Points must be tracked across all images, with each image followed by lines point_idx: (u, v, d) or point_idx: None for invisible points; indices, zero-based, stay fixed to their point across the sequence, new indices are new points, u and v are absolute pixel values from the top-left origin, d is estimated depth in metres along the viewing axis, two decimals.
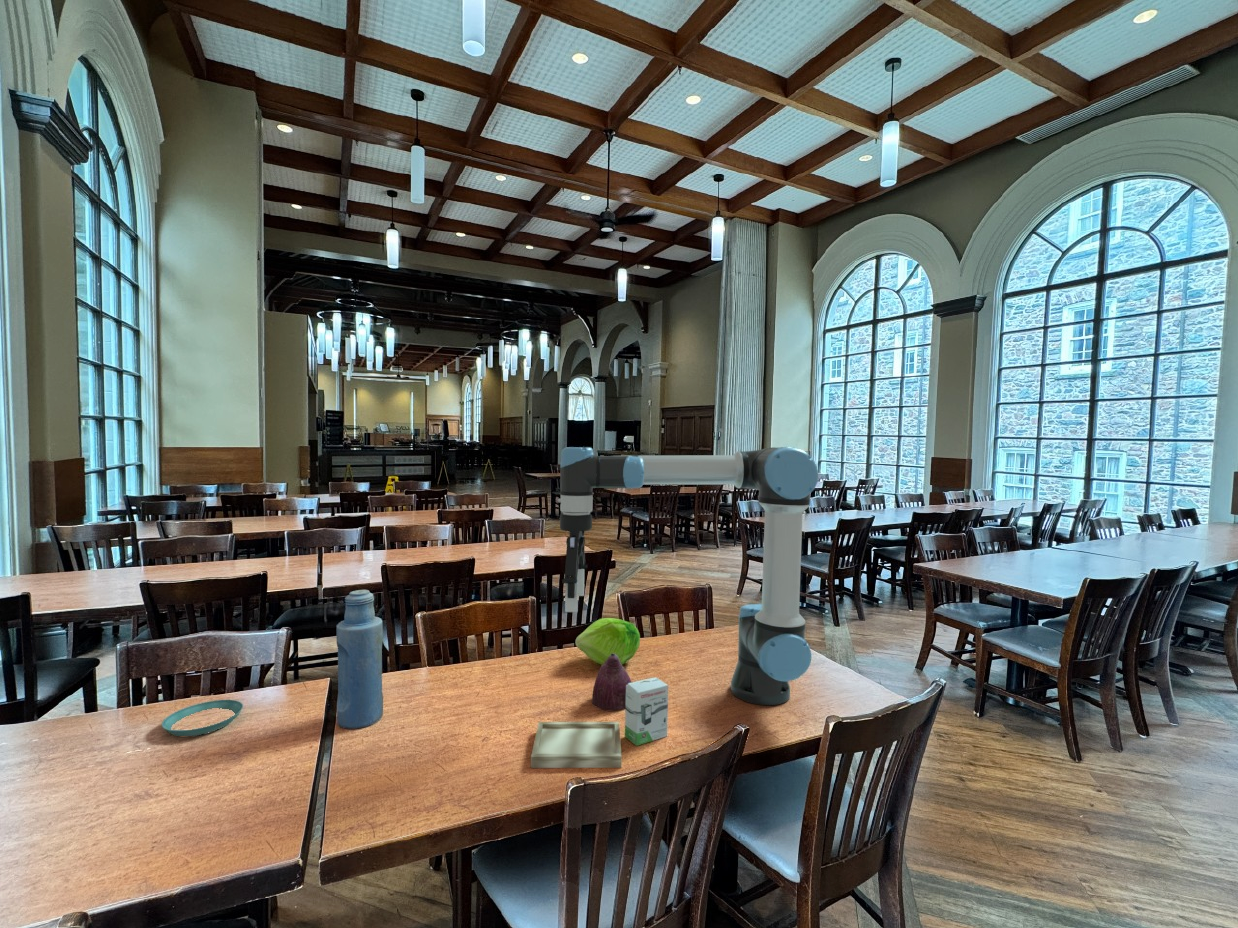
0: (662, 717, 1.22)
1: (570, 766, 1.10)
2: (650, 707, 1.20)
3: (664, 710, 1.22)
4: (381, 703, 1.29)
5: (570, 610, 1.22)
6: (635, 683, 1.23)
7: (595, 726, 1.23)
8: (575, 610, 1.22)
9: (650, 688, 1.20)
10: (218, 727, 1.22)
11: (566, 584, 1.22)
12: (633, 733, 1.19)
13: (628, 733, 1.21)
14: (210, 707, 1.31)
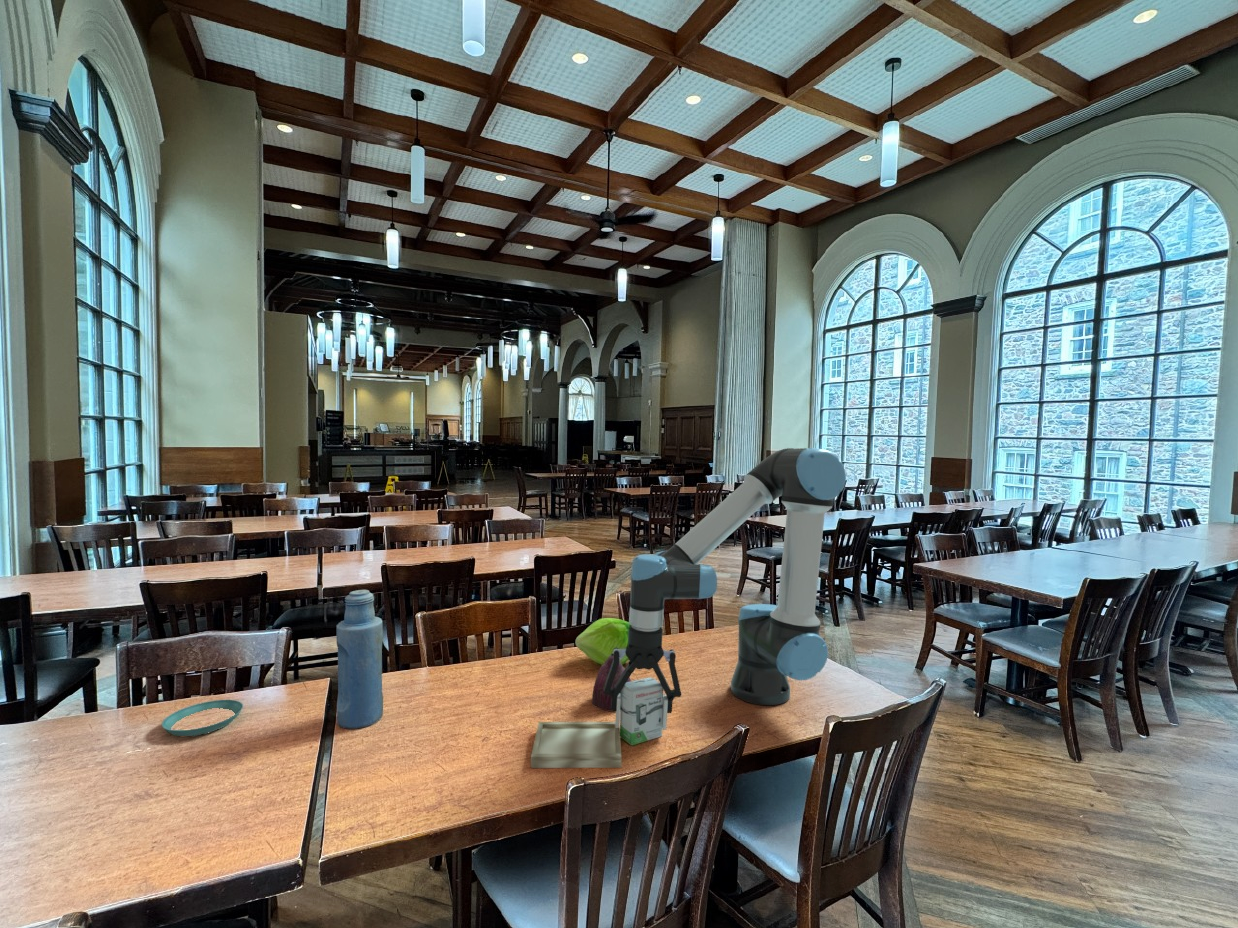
0: (657, 717, 1.22)
1: (570, 766, 1.10)
2: (645, 707, 1.20)
3: (659, 710, 1.22)
4: (381, 703, 1.29)
5: None
6: (630, 682, 1.23)
7: (595, 726, 1.23)
8: None
9: (645, 688, 1.20)
10: (218, 727, 1.22)
11: None
12: (628, 733, 1.19)
13: (623, 733, 1.21)
14: (210, 707, 1.31)
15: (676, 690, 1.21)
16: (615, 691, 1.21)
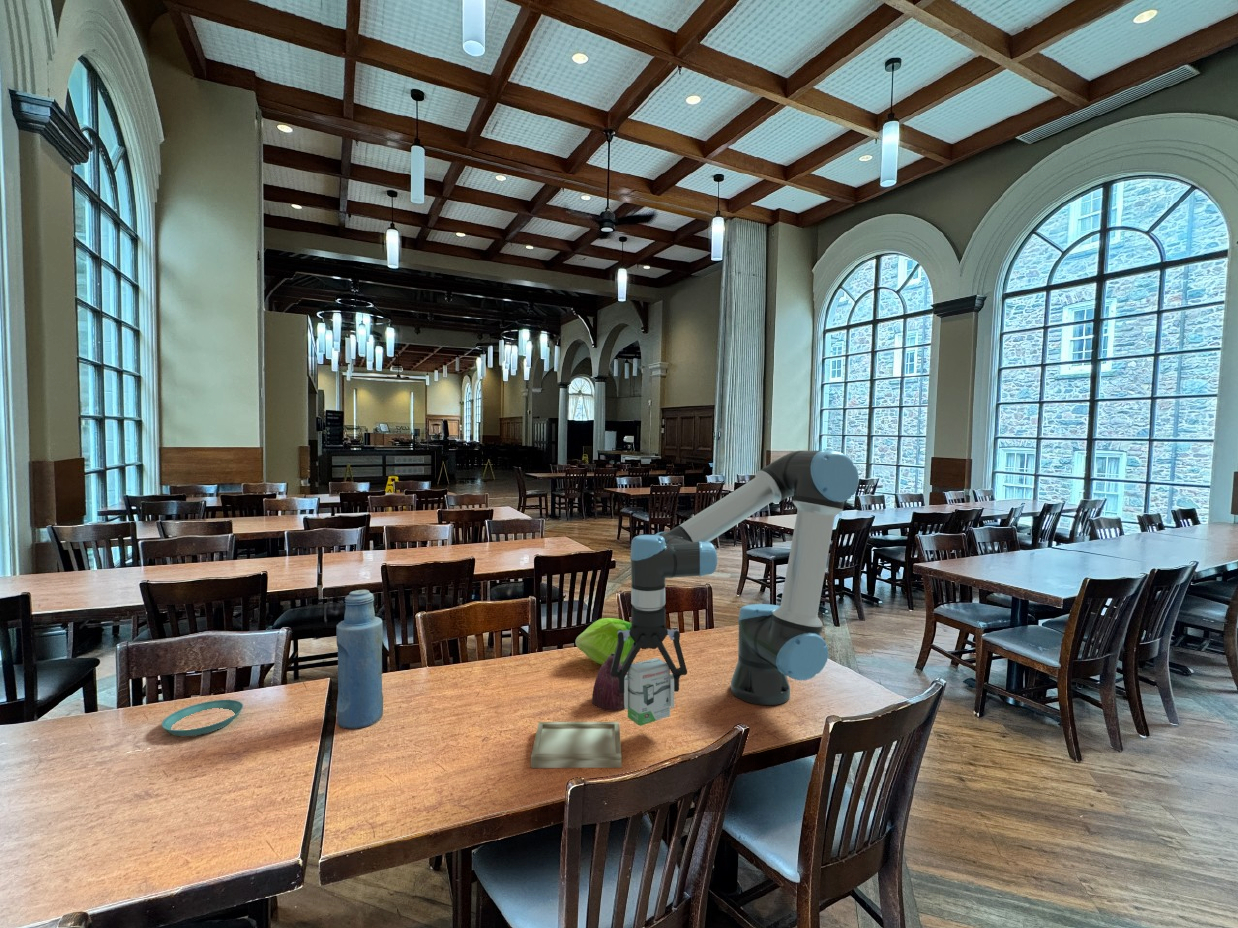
0: (665, 697, 1.22)
1: (570, 766, 1.10)
2: (652, 688, 1.20)
3: (667, 690, 1.22)
4: (381, 703, 1.29)
5: None
6: (636, 664, 1.23)
7: (595, 726, 1.23)
8: (624, 707, 1.21)
9: (651, 668, 1.20)
10: (218, 727, 1.22)
11: None
12: (636, 713, 1.19)
13: (631, 714, 1.21)
14: (210, 707, 1.31)
15: (682, 668, 1.21)
16: (622, 672, 1.21)
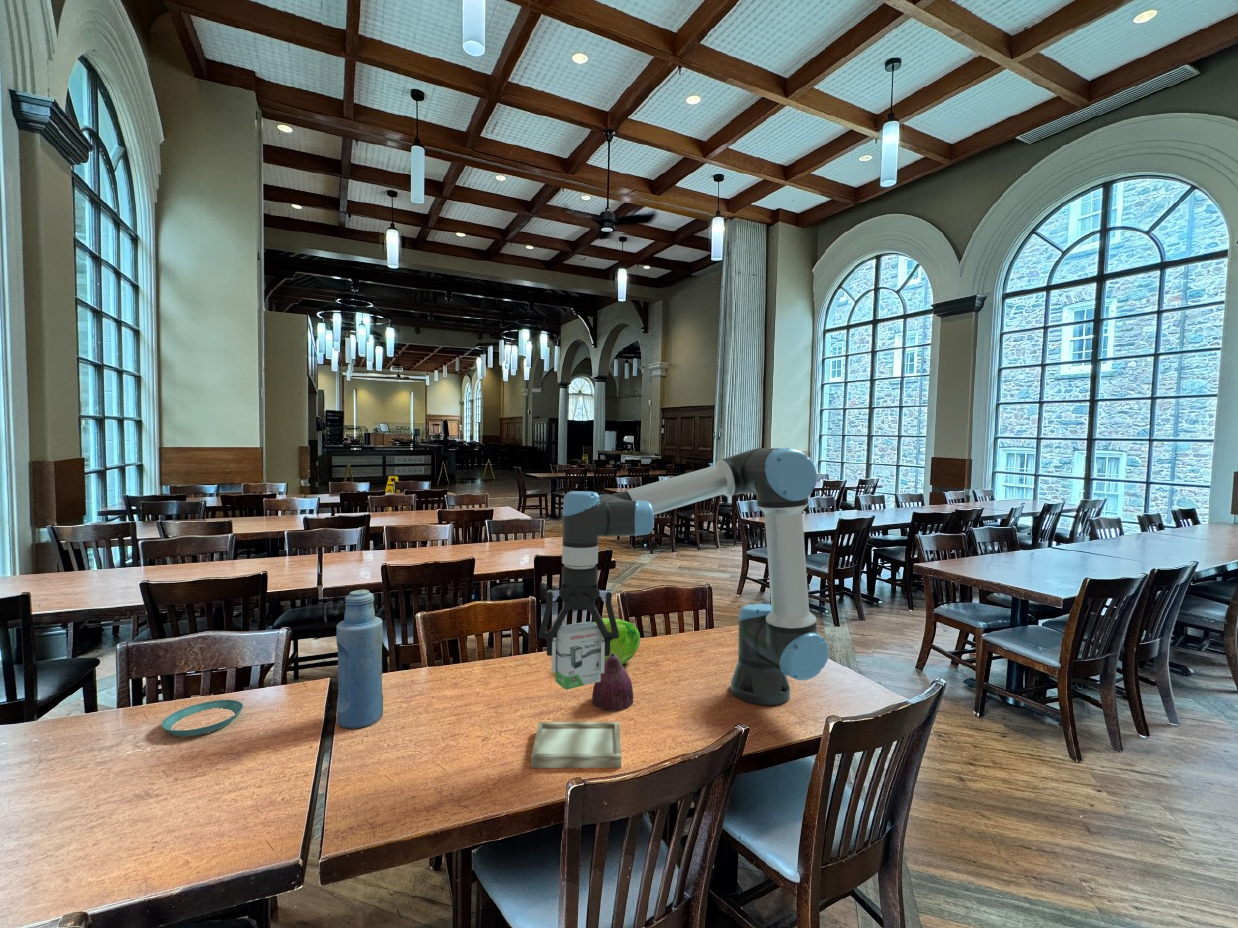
0: (595, 661, 1.16)
1: (570, 766, 1.10)
2: (581, 650, 1.14)
3: (597, 654, 1.16)
4: (381, 703, 1.29)
5: None
6: (566, 625, 1.17)
7: (595, 726, 1.23)
8: None
9: (580, 630, 1.15)
10: (218, 727, 1.22)
11: None
12: (562, 677, 1.13)
13: (558, 678, 1.15)
14: (210, 707, 1.31)
15: (613, 631, 1.15)
16: (550, 634, 1.15)
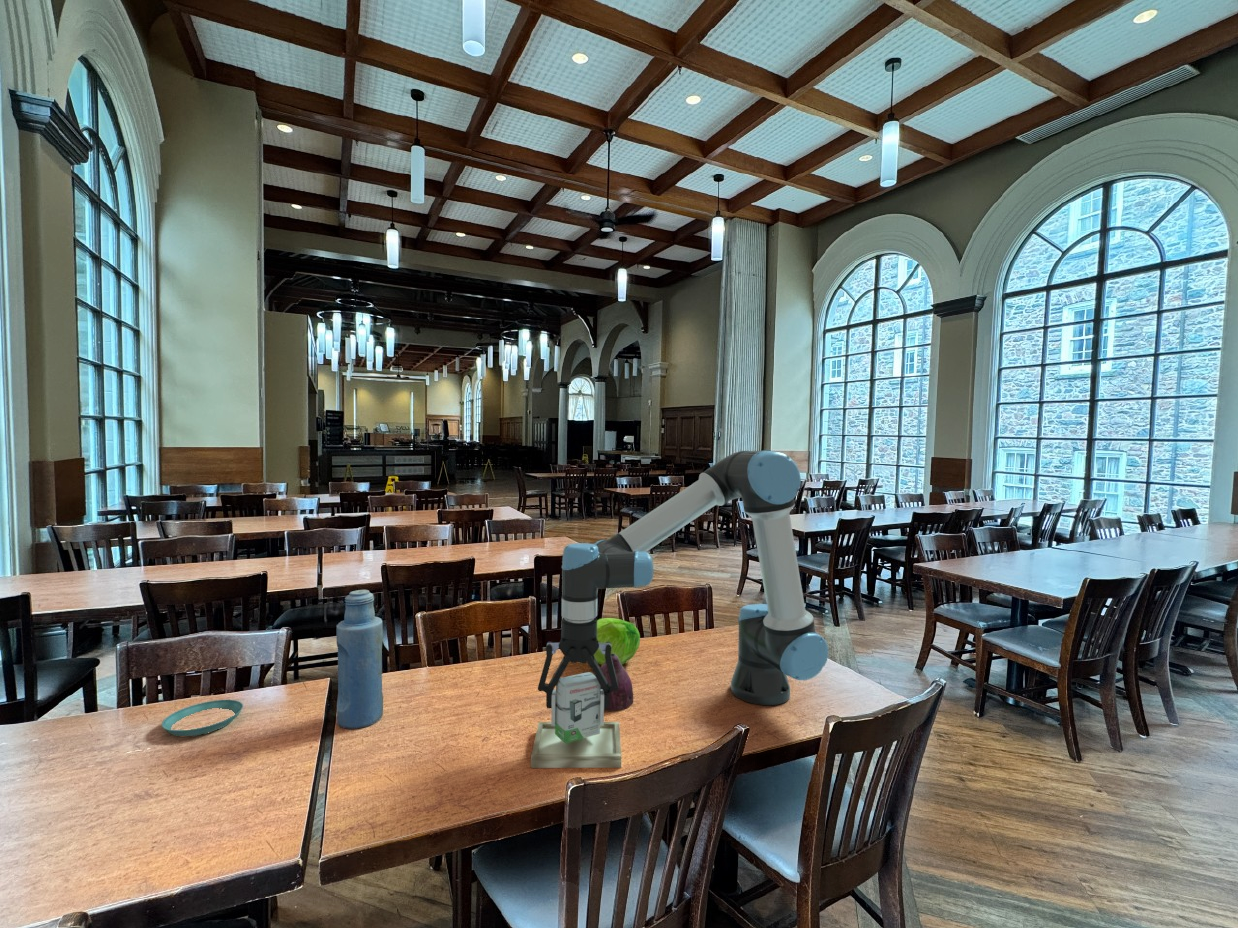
0: (594, 713, 1.16)
1: (570, 766, 1.10)
2: (580, 703, 1.14)
3: (596, 706, 1.16)
4: (381, 703, 1.29)
5: None
6: (566, 678, 1.17)
7: None
8: (551, 723, 1.16)
9: (580, 683, 1.15)
10: (218, 727, 1.22)
11: None
12: (562, 730, 1.14)
13: (558, 730, 1.15)
14: (210, 707, 1.31)
15: (613, 684, 1.16)
16: (549, 687, 1.15)
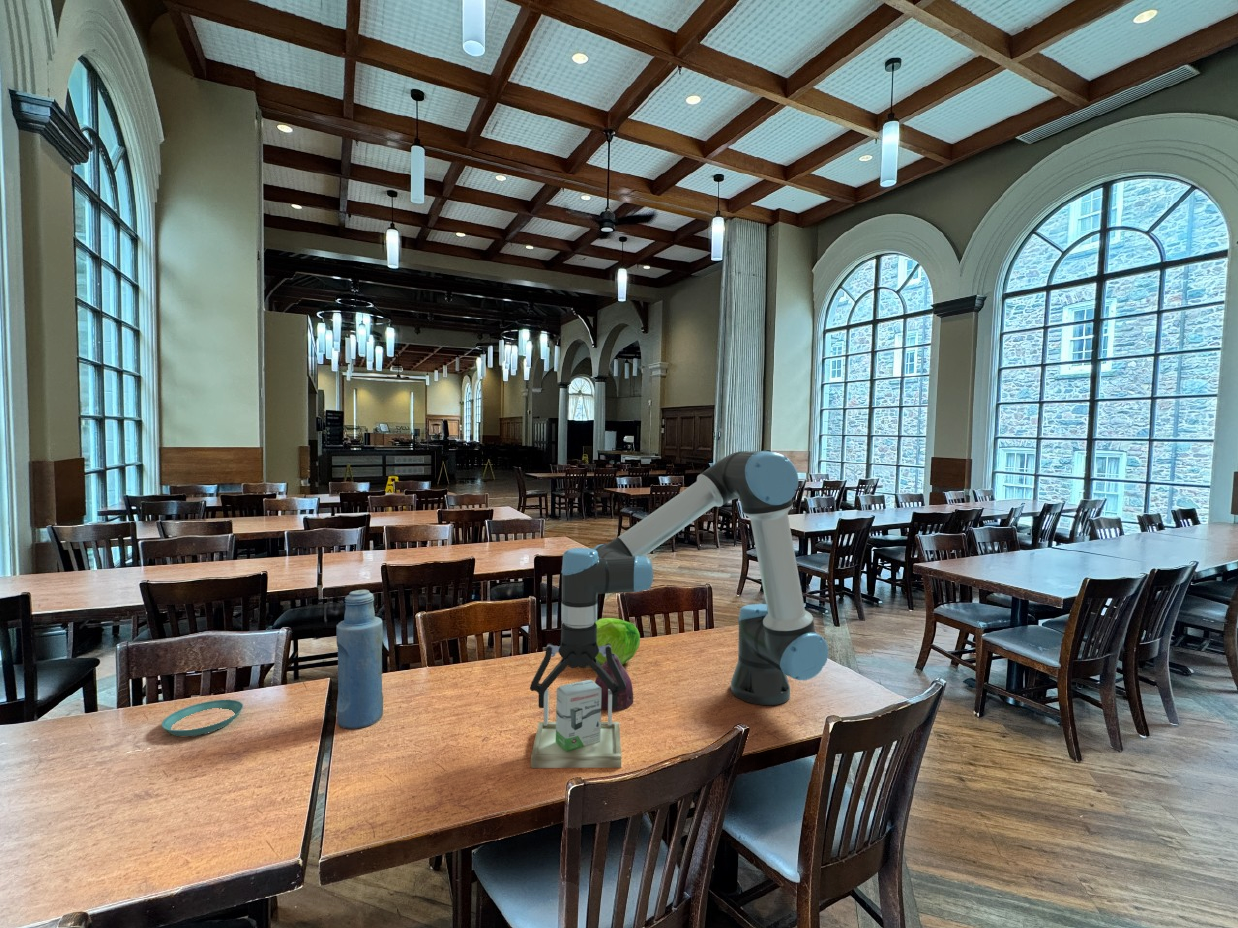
0: (595, 721, 1.16)
1: (570, 766, 1.10)
2: (581, 711, 1.14)
3: (597, 714, 1.17)
4: (381, 703, 1.29)
5: None
6: (566, 685, 1.17)
7: None
8: None
9: (581, 691, 1.15)
10: (218, 727, 1.22)
11: None
12: (563, 738, 1.14)
13: (558, 738, 1.15)
14: (210, 707, 1.31)
15: (620, 684, 1.16)
16: (542, 687, 1.15)
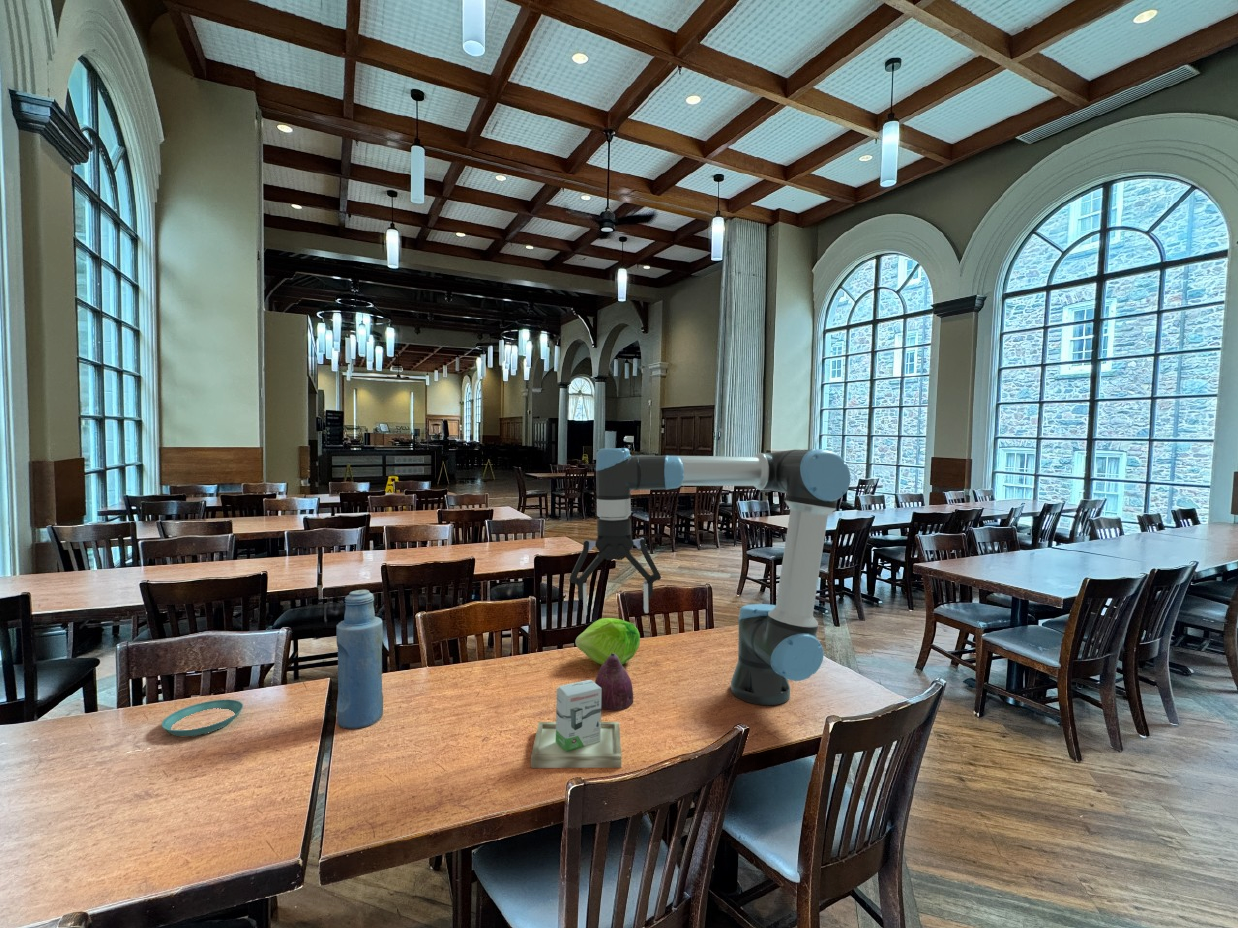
0: (595, 721, 1.16)
1: (570, 766, 1.10)
2: (581, 711, 1.14)
3: (597, 714, 1.17)
4: (381, 703, 1.29)
5: None
6: (566, 685, 1.17)
7: None
8: None
9: (581, 691, 1.15)
10: (218, 727, 1.22)
11: None
12: (563, 738, 1.14)
13: (558, 738, 1.15)
14: (210, 707, 1.31)
15: (655, 574, 1.22)
16: (581, 579, 1.21)
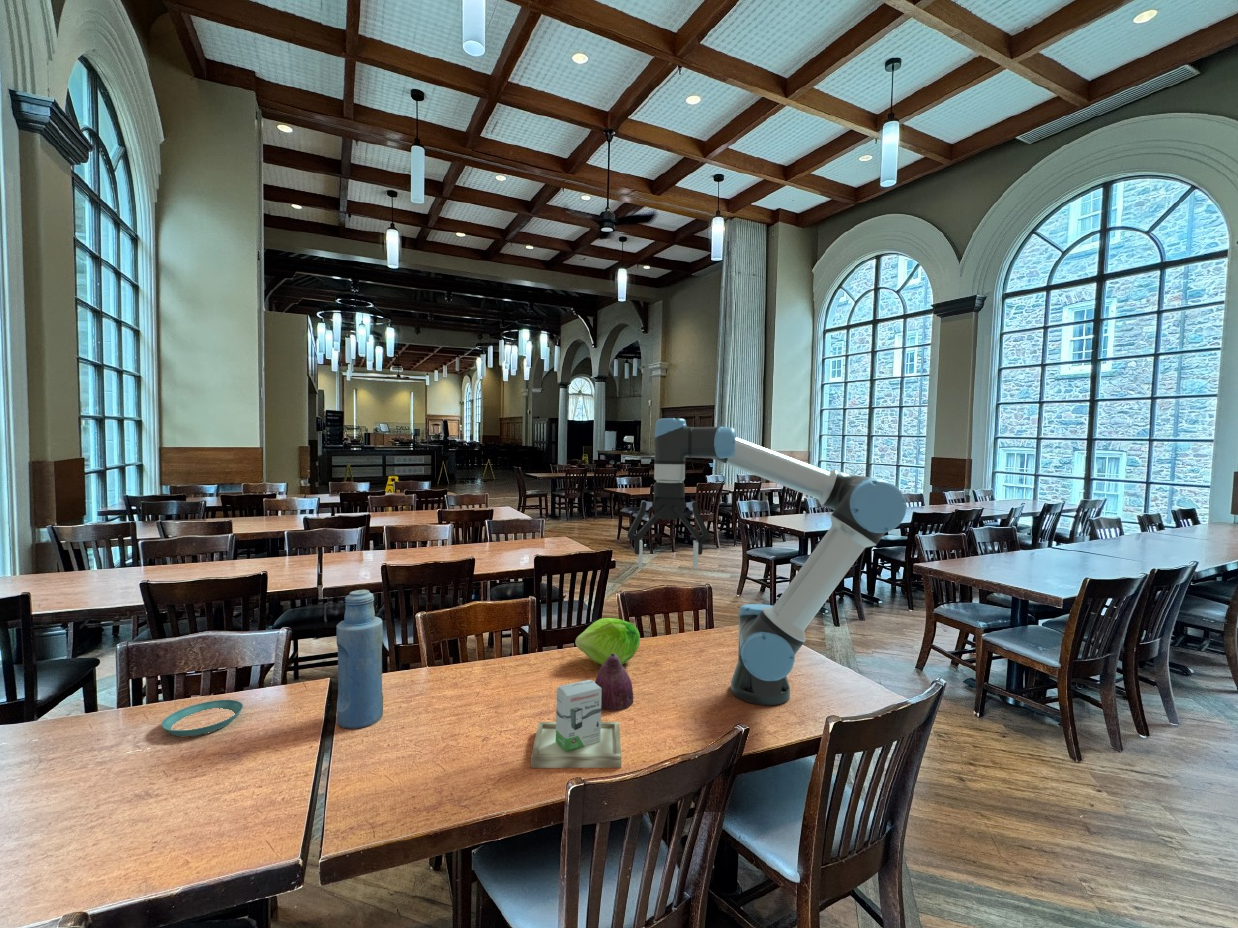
0: (595, 721, 1.16)
1: (570, 766, 1.10)
2: (581, 711, 1.14)
3: (597, 714, 1.17)
4: (381, 703, 1.29)
5: None
6: (566, 685, 1.17)
7: None
8: (639, 567, 1.35)
9: (581, 691, 1.15)
10: (218, 727, 1.22)
11: None
12: (563, 738, 1.14)
13: (558, 738, 1.15)
14: (210, 707, 1.31)
15: (705, 533, 1.35)
16: (638, 535, 1.34)
